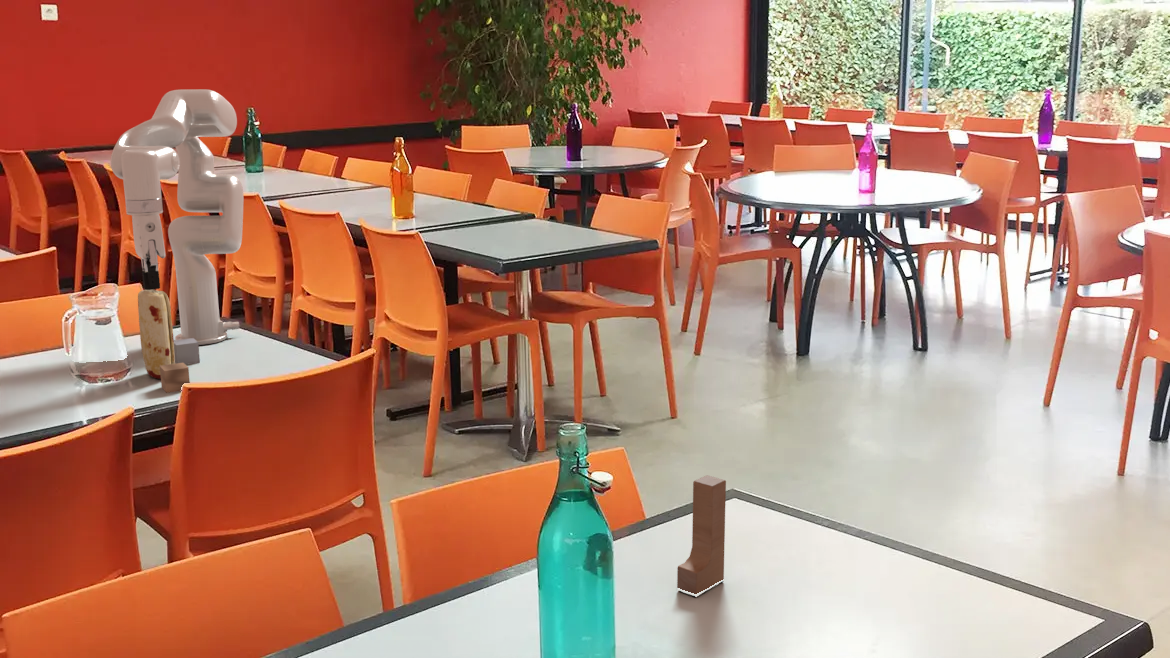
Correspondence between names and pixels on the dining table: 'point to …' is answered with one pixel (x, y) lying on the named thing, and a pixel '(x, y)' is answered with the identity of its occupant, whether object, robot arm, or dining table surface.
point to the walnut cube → (174, 376)
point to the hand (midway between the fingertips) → (152, 288)
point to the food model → (155, 330)
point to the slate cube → (186, 351)
